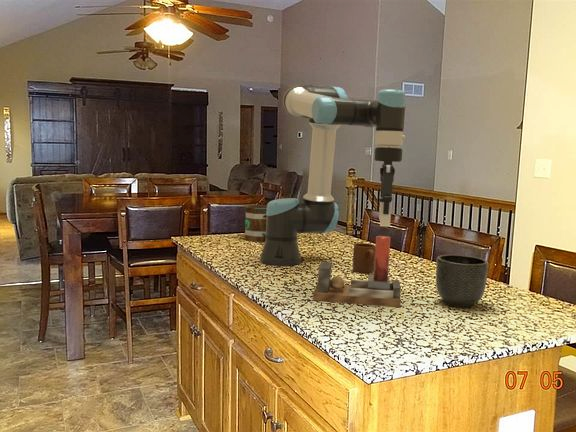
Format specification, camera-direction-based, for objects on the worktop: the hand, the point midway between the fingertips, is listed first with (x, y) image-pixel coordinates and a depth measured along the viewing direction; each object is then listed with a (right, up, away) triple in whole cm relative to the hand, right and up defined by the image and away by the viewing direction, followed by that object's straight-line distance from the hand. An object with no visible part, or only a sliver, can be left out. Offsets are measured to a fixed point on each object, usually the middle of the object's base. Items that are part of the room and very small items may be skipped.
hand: (384, 223), depth 151 cm
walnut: (-13, -19, +5) cm, 24 cm away
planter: (+22, -23, +2) cm, 32 cm away
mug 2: (0, -18, +36) cm, 40 cm away
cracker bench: (-7, -22, +4) cm, 23 cm away
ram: (-1, -20, +3) cm, 20 cm away
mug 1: (-39, -9, +92) cm, 100 cm away
